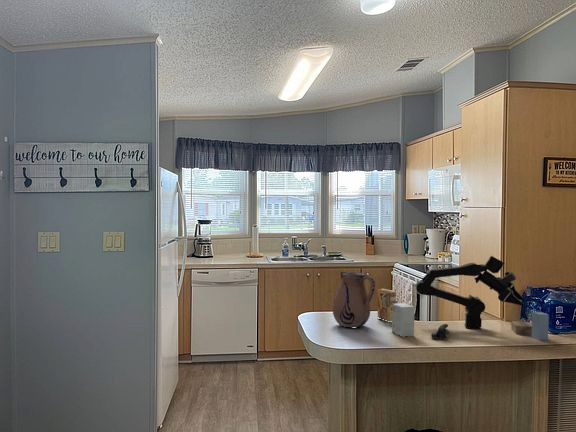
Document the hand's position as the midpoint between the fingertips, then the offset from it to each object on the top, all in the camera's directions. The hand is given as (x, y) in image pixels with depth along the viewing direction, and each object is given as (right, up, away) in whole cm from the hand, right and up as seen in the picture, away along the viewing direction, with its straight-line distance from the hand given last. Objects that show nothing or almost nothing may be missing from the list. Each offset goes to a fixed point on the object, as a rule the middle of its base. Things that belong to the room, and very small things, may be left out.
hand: (523, 302), depth 204 cm
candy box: (-58, -13, +19) cm, 63 cm away
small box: (-56, -13, -6) cm, 58 cm away
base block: (+1, -15, +2) cm, 15 cm away
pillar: (+3, -14, -8) cm, 17 cm away
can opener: (-39, -14, -7) cm, 42 cm away
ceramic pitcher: (-76, -13, +6) cm, 77 cm away
